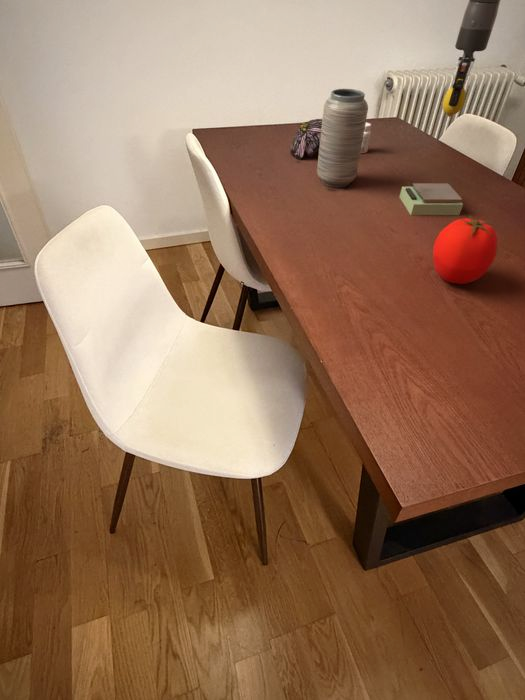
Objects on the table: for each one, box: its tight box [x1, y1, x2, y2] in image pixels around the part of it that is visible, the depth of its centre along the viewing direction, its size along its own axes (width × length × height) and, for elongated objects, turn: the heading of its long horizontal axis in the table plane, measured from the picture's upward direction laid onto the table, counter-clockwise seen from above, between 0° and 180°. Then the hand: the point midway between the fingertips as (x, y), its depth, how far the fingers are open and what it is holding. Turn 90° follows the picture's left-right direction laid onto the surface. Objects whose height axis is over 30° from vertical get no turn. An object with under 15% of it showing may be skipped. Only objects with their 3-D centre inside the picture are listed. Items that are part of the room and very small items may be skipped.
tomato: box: [432, 215, 498, 285], centre depth 80 cm, size 12×12×13 cm
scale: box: [398, 186, 464, 216], centre depth 108 cm, size 13×11×4 cm
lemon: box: [442, 87, 467, 118], centre depth 111 cm, size 6×6×8 cm
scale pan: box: [411, 182, 463, 202], centre depth 107 cm, size 10×10×1 cm
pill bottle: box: [360, 122, 372, 154], centre depth 136 cm, size 5×5×8 cm
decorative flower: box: [289, 118, 323, 161], centre depth 133 cm, size 15×12×15 cm
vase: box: [316, 88, 369, 188], centre depth 112 cm, size 12×12×23 cm
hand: (453, 102), depth 112 cm, fingers closed on lemon, 5 cm apart
